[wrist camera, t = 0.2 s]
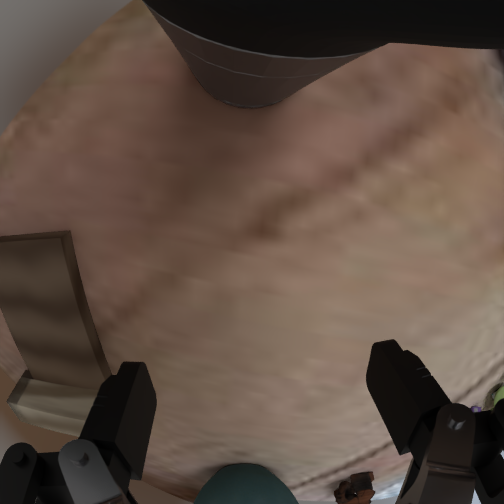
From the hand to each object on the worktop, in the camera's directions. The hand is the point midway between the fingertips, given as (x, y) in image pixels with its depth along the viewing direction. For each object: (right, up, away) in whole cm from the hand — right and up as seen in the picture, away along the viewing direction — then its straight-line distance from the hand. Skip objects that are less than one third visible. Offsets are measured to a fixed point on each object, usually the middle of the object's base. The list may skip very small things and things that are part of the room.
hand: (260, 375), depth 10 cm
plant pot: (-2, -34, +33) cm, 47 cm away
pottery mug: (+20, -44, +39) cm, 62 cm away
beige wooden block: (-24, -14, +22) cm, 36 cm away
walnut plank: (-23, -6, +20) cm, 31 cm away
